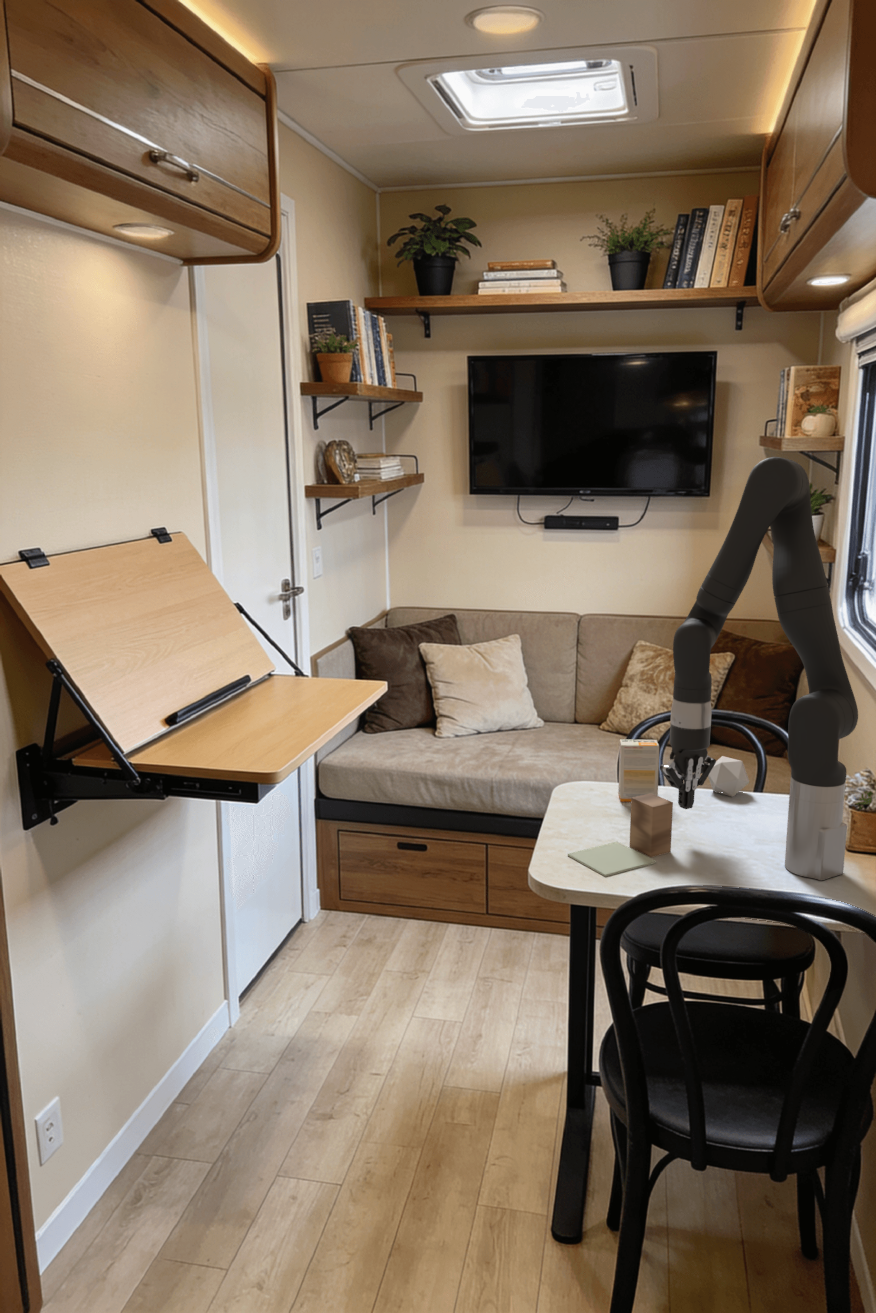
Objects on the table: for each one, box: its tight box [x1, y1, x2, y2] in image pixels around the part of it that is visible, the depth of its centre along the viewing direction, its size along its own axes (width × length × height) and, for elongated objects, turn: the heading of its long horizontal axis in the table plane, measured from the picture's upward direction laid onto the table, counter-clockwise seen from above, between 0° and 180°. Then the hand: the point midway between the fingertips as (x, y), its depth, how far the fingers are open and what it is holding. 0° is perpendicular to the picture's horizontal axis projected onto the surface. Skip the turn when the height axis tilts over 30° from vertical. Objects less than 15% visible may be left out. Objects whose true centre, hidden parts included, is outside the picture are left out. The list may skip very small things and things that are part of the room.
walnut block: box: [629, 793, 674, 858], centre depth 190 cm, size 6×5×10 cm
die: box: [707, 755, 750, 798], centre depth 222 cm, size 8×9×10 cm
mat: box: [567, 841, 657, 878], centre depth 186 cm, size 11×12×1 cm
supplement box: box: [617, 738, 660, 803], centre depth 218 cm, size 8×5×13 cm, turn 84°
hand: (685, 807), depth 194 cm, fingers closed
